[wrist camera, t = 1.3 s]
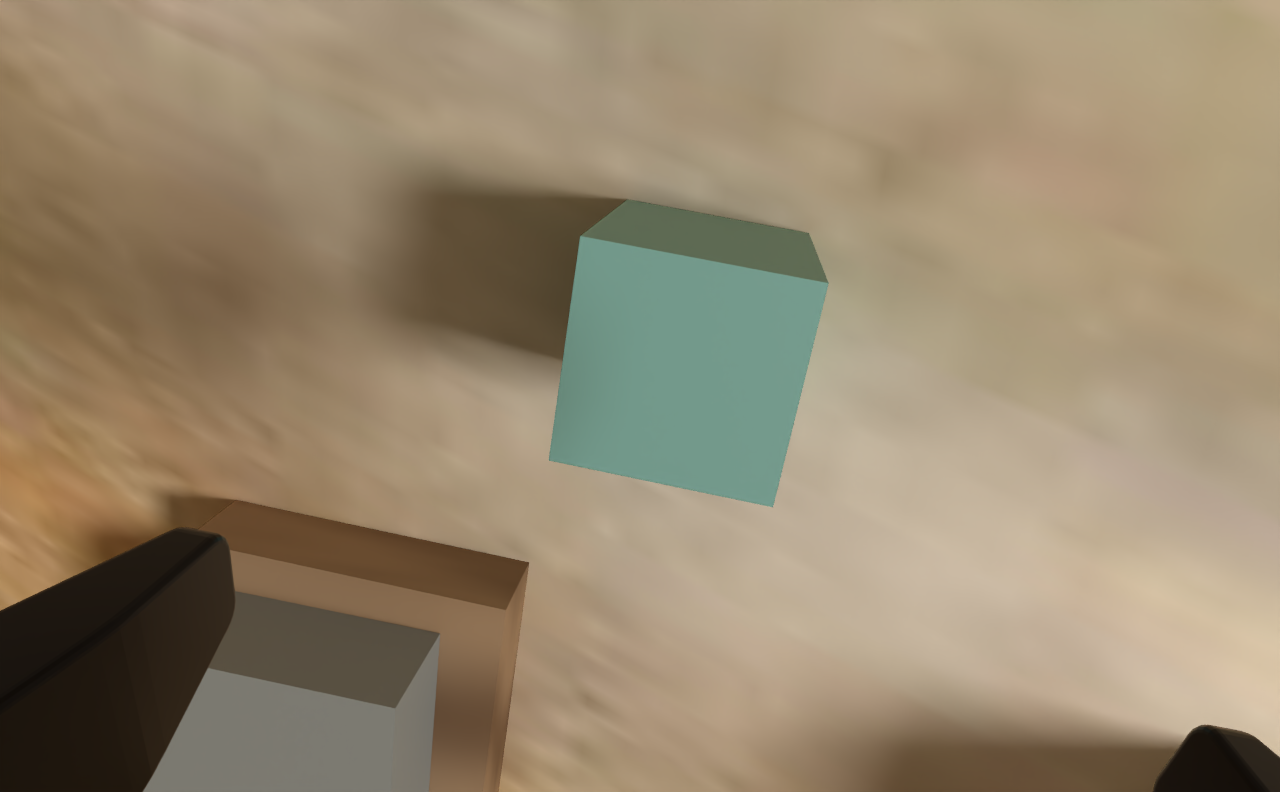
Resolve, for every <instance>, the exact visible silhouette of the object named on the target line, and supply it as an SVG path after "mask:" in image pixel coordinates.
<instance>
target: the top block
mask: <svg viewBox="0 0 1280 792" xmlns="http://www.w3.org/2000/svg"><path fill="white" fill-rule="evenodd" d="M235 598H236V602H235V610H234V614H233V618H232V621H231V623H230V625H229V628H228V630H227V632H226V634H225V636H224V638H223V639H222V641H221V643H220V645H219V647H218V649H217V651H216V653H215V655H214V657H213V659H212V661H211V663H210V665H209V667H208V669H207V671H206V673H205V675H204V677H203V679H202V681H201V683H200V685H199V687H198V689H197V691H196V693H195V695H194V697H193V699H192V701H191V703H190V705H189V707H188V709H187V711H186V713H185V715H184V717H183V718H182V720H181V722H180V724H179V726H178V728H177V730H176V732H175V734H174V736H173V738H172V740H171V742H170V744H169V746H168V748H167V750H166V752H165V754H164V756H163V758H162V759H161V761H160V763H159V765H158V767H157V769H156V771H155V772H154V774H153V776H152V778H151V779H150V781H149V783H148V784H147V786H146V788H145V789H144V791H143V792H429V782H430V768H431V755H432V741H433V727H434V713H435V699H436V685H437V671H438V657H439V643H440V633H435V632H431V631H426V630H421V629H416V628H411V627H406V626H402V625H397V624H392V623H387V622H382V621H378V620H373V619H368V618H363V617H358V616H354V615H349V614H344V613H339V612H334V611H329V610H325V609H320V608H315V607H310V606H305V605H301V604H296V603H291V602H286V601H281V600H276V599H272V598H267V597H262V596H257V595H252V594H247V593H242V592H237V591H235Z"/></svg>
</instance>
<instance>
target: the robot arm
mask: <svg viewBox="0 0 1280 792" xmlns="http://www.w3.org/2000/svg"><path fill="white" fill-rule="evenodd" d="M235 602H236V598H235V588H234V580H233V571H232V563H231V555H230V548H229V543H228V541H227V540H226V538H225V537H224V536H222V535H220V534H218V533H214V532H208V531H203V530H198V529H193V528H188V527H181V528H176V529H174V530H171V531H169V532H166V533H164V534H162V535H160V536H158V537H156V538H154V539H152V540H149V541H147V542H145V543H143V544H141V545H139V546H137V547H135V548H132V549H130V550H128V551H126V552H124V553H122V554H120V555H118V556H115V557H113V558H111V559H109V560H107V561H105V562H103V563H101V564H98V565H96V566H94V567H92V568H90V569H88V570H86V571H84V572H81V573H79V574H77V575H75V576H73V577H71V578H69V579H67V580H64V581H62V582H60V583H58V584H56V585H54V586H52V587H50V588H47V589H45V590H43V591H41V592H39V593H37V594H35V595H33V596H30V597H28V598H26V599H24V600H22V601H20V602H18V603H16V604H13V605H11V606H9V607H7V608H5V609H3V610H1V611H0V792H143V791H144V789H145V788H146V786H147V784H148V783H149V781H150V779H151V778H152V776H153V774H154V772H155V771H156V769H157V767H158V765H159V763H160V761H161V759H162V758H163V756H164V754H165V752H166V750H167V748H168V746H169V744H170V742H171V740H172V738H173V736H174V734H175V732H176V730H177V728H178V726H179V724H180V722H181V720H182V718H183V717H184V715H185V713H186V711H187V709H188V707H189V705H190V703H191V701H192V699H193V697H194V695H195V693H196V691H197V689H198V687H199V685H200V683H201V681H202V679H203V677H204V675H205V673H206V671H207V669H208V667H209V665H210V663H211V661H212V659H213V657H214V655H215V653H216V651H217V649H218V647H219V645H220V643H221V641H222V639H223V638H224V636H225V634H226V632H227V630H228V628H229V625H230V623H231V621H232V618H233V614H234V610H235ZM1153 792H1280V757H1279V756H1277V755H1276V754H1275V753H1274V752H1273V751H1271V750H1270V749H1269V748H1268V747H1267V746H1266V745H1264V744H1263V743H1262V742H1261V741H1260V740H1258V739H1257V738H1256V737H1254V736H1252V735H1250V734H1248V733H1245V732H1243V731H1238V730H1233V729H1228V728H1222V727H1217V726H1212V725H1201V726H1198V727H1196V728H1194V729H1193V730H1192V731H1191V732H1190V733H1189V734H1188V735H1187V737H1186V738H1185V740H1184V741H1183V742H1182V744H1181V745H1180V746H1179V748H1178V749H1177V751H1176V752H1175V753H1174V755H1173V756H1172V758H1171V759H1170V760H1169V762H1168V763H1167V764H1166V766H1165V767H1164V769H1163V770H1162V771H1161V773H1160V774H1159V776H1158V777H1157V779H1156V782H1155V785H1154V791H1153Z"/></svg>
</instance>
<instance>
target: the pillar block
mask: <svg viewBox="0 0 1280 792" xmlns="http://www.w3.org/2000/svg"><path fill="white" fill-rule="evenodd" d="M827 287H828V281H827V278H826V276H825V273H824V270H823V268H822V265H821V263H820V260H819V258H818V255H817V253H816V250H815V248H814V245H813V242H812V240H811V237H810V235H809V233H805V232H800V231H794V230H789V229H784V228H778V227H773V226H767V225H762V224H757V223H751V222H746V221H741V220H735V219H730V218H725V217H719V216H714V215H709V214H703V213H698V212H692V211H687V210H682V209H676V208H671V207H666V206H660V205H655V204H650V203H644V202H639V201H633V200H628V199H627V200H626V201H625V202H624V203H622V204H621V205H620V206H618V207H617V208H616V209H614V210H613V211H612V212H611V213H609V214H608V215H607V216H605V217H604V218H603V219H602V220H600V221H599V222H598V223H596V224H595V225H594V226H592V227H591V228H590V229H589V230H587V231H586V232H585V233H583V234H582V235H581V236H580V241H579V248H578V256H577V263H576V270H575V277H574V284H573V291H572V298H571V305H570V312H569V320H568V327H567V334H566V341H565V348H564V355H563V362H562V369H561V377H560V384H559V391H558V398H557V405H556V412H555V419H554V426H553V433H552V441H551V448H550V455H549V461H554V462H559V463H564V464H568V465H573V466H578V467H583V468H588V469H592V470H597V471H602V472H607V473H612V474H616V475H621V476H626V477H631V478H635V479H640V480H645V481H650V482H655V483H659V484H664V485H669V486H674V487H679V488H683V489H688V490H693V491H698V492H703V493H707V494H712V495H717V496H722V497H727V498H731V499H736V500H741V501H746V502H751V503H755V504H760V505H765V506H770V507H773V505H774V501H775V497H776V493H777V489H778V485H779V481H780V477H781V473H782V469H783V465H784V461H785V456H786V452H787V448H788V444H789V440H790V436H791V432H792V428H793V424H794V420H795V416H796V412H797V408H798V404H799V400H800V396H801V392H802V388H803V384H804V380H805V376H806V372H807V368H808V364H809V360H810V356H811V352H812V348H813V344H814V340H815V336H816V332H817V328H818V324H819V319H820V315H821V311H822V307H823V303H824V299H825V295H826V291H827Z"/></svg>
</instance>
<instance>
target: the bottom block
mask: <svg viewBox="0 0 1280 792" xmlns="http://www.w3.org/2000/svg"><path fill="white" fill-rule="evenodd" d="M198 530H203V531H208V532H214V533H218V534H220V535H222V536H224V537H225V538H226V540H227V541H228V543H229V548H230V555H231V563H232V571H233V580H234V588H235V591H237V592H242V593H247V594H252V595H257V596H262V597H267V598H272V599H276V600H281V601H286V602H291V603H296V604H301V605H305V606H310V607H315V608H320V609H325V610H329V611H334V612H339V613H344V614H349V615H354V616H358V617H363V618H368V619H373V620H378V621H382V622H387V623H392V624H397V625H402V626H406V627H411V628H416V629H421V630H426V631H431V632H435V633H440V643H439V657H438V671H437V685H436V699H435V713H434V727H433V741H432V755H431V768H430V782H429V792H498V791H499V784H500V776H501V769H502V761H503V754H504V746H505V739H506V732H507V724H508V717H509V709H510V702H511V694H512V687H513V679H514V672H515V664H516V657H517V650H518V642H519V635H520V627H521V620H522V612H523V605H524V597H525V590H526V582H527V575H528V567H529V562H524V561H519V560H515V559H510V558H505V557H500V556H496V555H491V554H486V553H482V552H477V551H472V550H468V549H463V548H458V547H454V546H449V545H444V544H440V543H435V542H430V541H426V540H421V539H416V538H412V537H407V536H402V535H398V534H393V533H388V532H383V531H379V530H374V529H369V528H365V527H360V526H355V525H351V524H346V523H341V522H337V521H332V520H327V519H323V518H318V517H313V516H309V515H304V514H299V513H295V512H290V511H285V510H281V509H276V508H271V507H266V506H262V505H257V504H252V503H248V502H243V501H238V500H235V501H234V502H233V503H232V504H230V505H229V506H228V507H226V508H225V509H224V510H223V511H221V512H220V513H219V514H217V515H216V516H215V517H213V518H212V519H211V520H210V521H208V522H207V523H206V524H204V525H203V526H202V527H200V528H199V529H198Z"/></svg>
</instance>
